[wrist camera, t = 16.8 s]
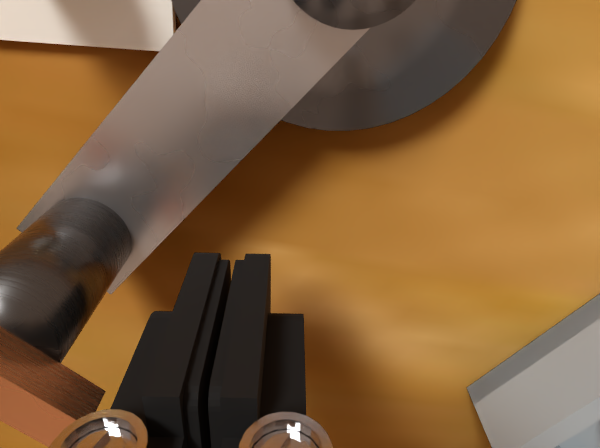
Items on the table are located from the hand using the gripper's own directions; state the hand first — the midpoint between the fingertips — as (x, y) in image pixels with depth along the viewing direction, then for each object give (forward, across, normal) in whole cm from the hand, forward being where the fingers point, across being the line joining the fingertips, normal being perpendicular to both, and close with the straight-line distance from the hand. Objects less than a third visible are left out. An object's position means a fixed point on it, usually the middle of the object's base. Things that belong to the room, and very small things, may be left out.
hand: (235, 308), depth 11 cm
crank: (+3, +1, -4) cm, 5 cm away
